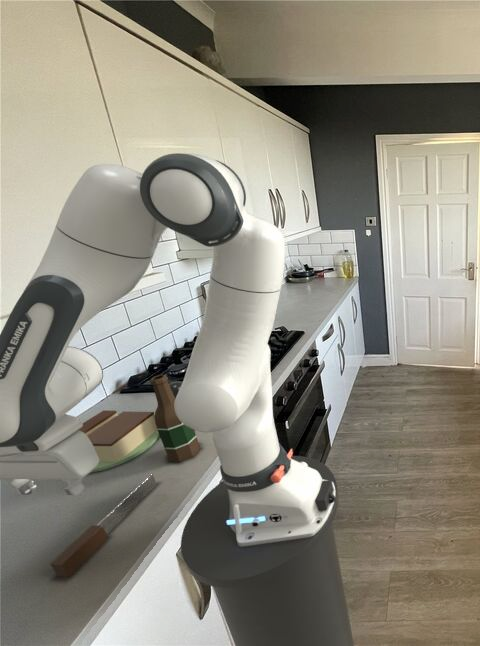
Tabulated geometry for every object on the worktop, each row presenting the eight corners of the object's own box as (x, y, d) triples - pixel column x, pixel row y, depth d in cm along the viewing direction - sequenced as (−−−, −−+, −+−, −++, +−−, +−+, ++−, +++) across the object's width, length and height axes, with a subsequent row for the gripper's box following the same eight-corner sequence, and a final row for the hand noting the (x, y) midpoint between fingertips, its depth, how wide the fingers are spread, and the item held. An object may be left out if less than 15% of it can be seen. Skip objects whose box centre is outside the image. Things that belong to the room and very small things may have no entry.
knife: (160, 484, 86) (156, 473, 84) (69, 577, 65) (61, 564, 64) (151, 484, 86) (147, 473, 85) (57, 576, 65) (49, 564, 64)
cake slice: (123, 427, 106) (116, 410, 104) (75, 460, 93) (66, 442, 91) (110, 426, 106) (103, 410, 104) (61, 459, 93) (52, 441, 91)
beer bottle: (204, 440, 101) (180, 367, 92) (196, 459, 94) (170, 381, 85) (173, 447, 98) (146, 372, 90) (163, 466, 92) (132, 387, 83)
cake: (175, 424, 108) (169, 405, 105) (118, 474, 89) (108, 452, 87) (115, 423, 109) (107, 405, 107) (46, 472, 91) (34, 450, 88)
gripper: (-66, 443, 56) (-21, 506, 61) (50, 443, 54) (86, 507, 59) (-17, 419, 62) (21, 478, 67) (89, 418, 60) (119, 479, 65)
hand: (52, 492), depth 63 cm, fingers open, 8 cm apart
